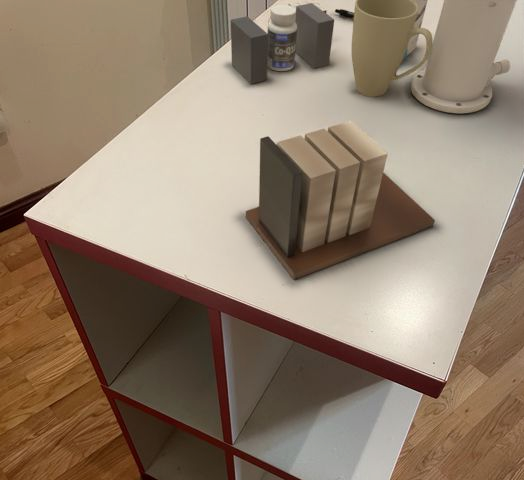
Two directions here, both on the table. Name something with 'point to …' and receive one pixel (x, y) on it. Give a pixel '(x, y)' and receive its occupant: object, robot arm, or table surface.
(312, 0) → the green boxy piece
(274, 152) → the bookend with books
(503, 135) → the table surface
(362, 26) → the mug
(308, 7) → the grey bookends
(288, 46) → the pill bottle
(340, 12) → the pen
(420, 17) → the ink box
